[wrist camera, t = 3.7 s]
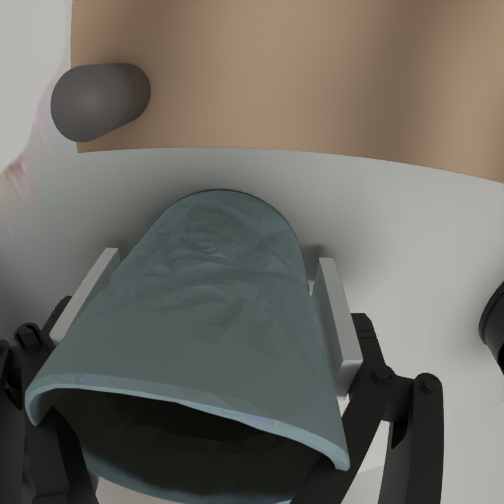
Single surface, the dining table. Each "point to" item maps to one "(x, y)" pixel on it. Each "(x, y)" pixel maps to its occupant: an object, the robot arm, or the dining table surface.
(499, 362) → the french press
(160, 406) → the teal plant pot
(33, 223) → the dining table surface
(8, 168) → the dining table surface
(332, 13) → the wooden board with feet
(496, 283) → the dining table surface
